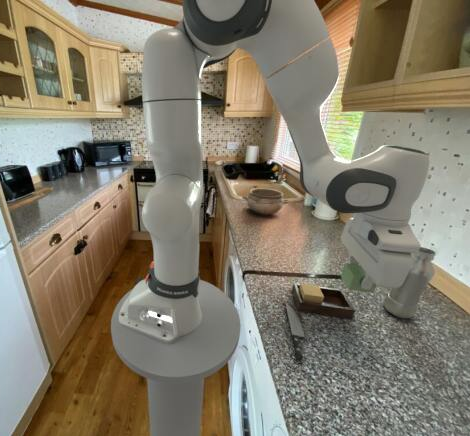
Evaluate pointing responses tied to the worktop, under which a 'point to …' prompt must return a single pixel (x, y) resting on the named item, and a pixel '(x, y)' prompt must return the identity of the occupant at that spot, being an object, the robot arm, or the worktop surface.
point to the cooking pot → (265, 200)
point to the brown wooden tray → (326, 303)
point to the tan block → (311, 293)
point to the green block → (355, 277)
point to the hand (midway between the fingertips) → (358, 278)
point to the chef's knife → (295, 329)
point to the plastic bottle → (411, 285)
